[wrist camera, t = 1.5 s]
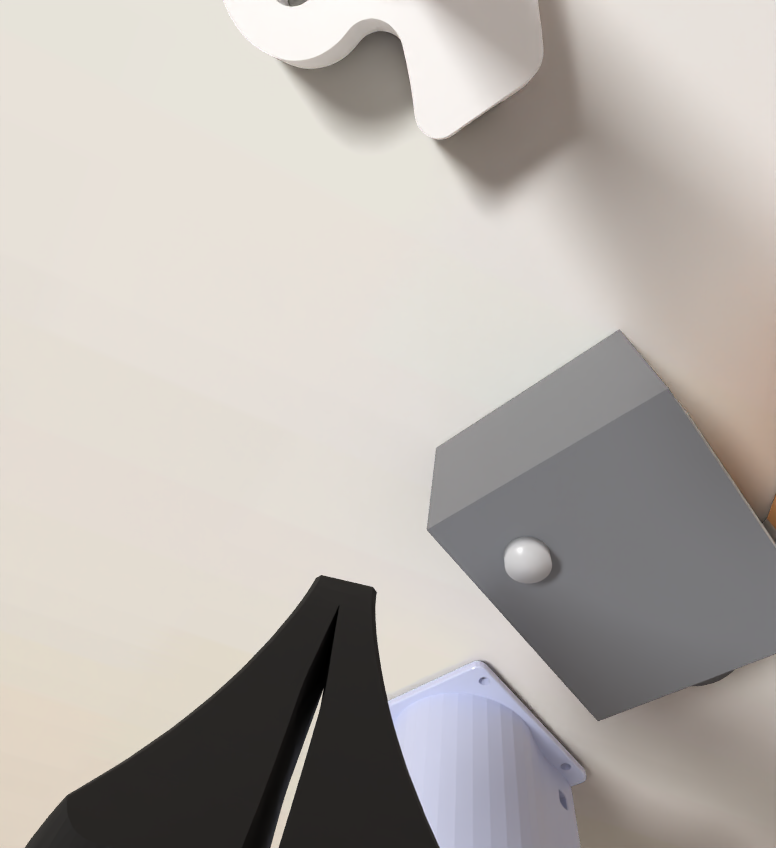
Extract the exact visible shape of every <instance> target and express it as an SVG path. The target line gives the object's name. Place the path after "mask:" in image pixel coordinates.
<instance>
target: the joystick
mask: <svg viewBox="0 0 776 848" xmlns="http://www.w3.org/2000/svg"><path fill="white" fill-rule="evenodd" d="M223 2H224V4H225V7H226V9H227V11H228V13H229V15H230V17H231V19H232V21H233V22H234V24H235V25H236V27H237V28H238V30H239V31H240V32H241V33H242V34H243V36H244V37H245V38H246V39H247V40H248V41H249V42H250V43H251V44H253V45H254V46H255V47H256V48H258V49H259V50H261V51H263V52H264V53H266V54H268V55H270V56H272V57H274V58H277V59H279V60H281V61H283V62H285V63H287V64H290V65H292V66H295V67H299V68H305V69H317V68H323V67H326V66H329V65H332V64H334V63H336V62H338V61H340V60H341V59H343V58H344V57H346V56H347V55H348V54H349V53H350V52H351V51H352V50H353V49H354V48H355V47H356V46H357V44H358V43H359V42H360V41H361V40H362V39H363V38H364V37H365V36H367V35H368V34H370V33H373V32H376V31H386V32H389V33H392V34H394V35H395V36H397V37H398V38H399V39H400V40H401V42H402V46H403V50H404V54H405V59H406V63H407V68H408V74H409V79H410V85H411V91H412V98H413V106H414V114H415V120H416V123H417V125H418V127H419V129H420V130H421V131H422V132H423V133H424V134H425V135H427V136H429V137H431V138H434V139H439V140H441V139H447V138H449V137H451V136H453V135H454V134H456V133H457V132H459V131H460V130H461V129H462V128H463V127H465V126H466V125H468V124H469V123H471V122H472V121H474V120H475V119H476V118H478V117H479V116H481V115H482V114H484V113H485V112H487V111H488V110H489V109H491V108H492V107H494V106H495V105H497V104H498V103H501V102H503V101H504V100H506V99H507V98H509V97H510V96H512V95H513V94H515V93H516V92H517V91H519V90H520V89H522V88H523V87H524V86H526V84H527V83H528V82H529V81H530V80H531V79H532V78H533V76H534V75H535V74H536V73H537V71H538V70H539V68H540V66H541V63H542V60H543V54H544V48H543V38H542V28H541V20H540V13H539V5H538V0H308V1H306V2H305V3H303V4H301V5H299V6H293V7H290V6H289V4H288V1H287V0H223Z"/></svg>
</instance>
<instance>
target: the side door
mask: <svg viewBox="0 0 776 848" xmlns="http://www.w3.org/2000/svg"><path fill="white" fill-rule="evenodd" d="M763 526H764V527H765V529H766V530H767V532H768V533H769V535H770V536H771V538H772V539H773V541H774V542H775V544H776V495H775V498H774V500H773V503H772V506H771V509H770V512H769V514H768V517H767V519H766V520H765V521H764V522H763Z"/></svg>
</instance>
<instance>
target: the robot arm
mask: <svg viewBox="0 0 776 848" xmlns="http://www.w3.org/2000/svg"><path fill="white" fill-rule="evenodd" d="M376 593H377V592H376V591H375V589H374V588H373V587H370V586H366V585H362V584H357V583H353V582H349V581H344V580H340V579H336V578H331V577H327V576H323V575H321V576H319V577H317V578H316V579H315V581H314V582H313V584H312V586H311V587H310V589H309V590H308V592H307V594H306V595H305V596H304V598H303V599H302V601H301V602H300V603H299V605H298V606H297V607H296V609H295V610H294V611H293V612H292V614H291V615H290V616H289V617H288V619H287V620H286V621H285V622H284V623H283V625H282V626H281V627H280V628H279V629H278V630H277V632H276V633H275V634H274V635H273V636H272V637H271V639H270V640H269V641H268V642H267V643H266V644H265V645H264V646H263V647H262V648H261V649H260V650H259V651H258V652H257V653H256V654H255V655H254V657H253V658H252V659H251V660H250V661H249V662H248V663H247V664H246V665H245V666H244V667H243V668H242V669H241V670H240V671H239V672H238V673H237V674H236V675H234V676H233V677H232V678H231V679H230V680H229V681H228V682H227V683H226V684H225V685H224V686H223V687H221V688H220V689H219V690H218V691H217V692H216V693H215V694H213V695H212V696H211V697H210V698H209V699H208V700H206V701H205V702H204V703H203V704H201V705H200V706H199V707H198V708H197V709H195V710H194V711H193V712H192V713H190V714H189V715H188V716H187V717H185V718H184V719H183V720H182V721H180V722H179V723H178V724H176V725H175V726H174V727H172V728H171V729H170V730H168V731H167V732H165V733H164V734H163V735H161V736H160V737H158V738H157V739H155V740H154V741H152V742H151V743H150V744H148V745H147V746H145V747H144V748H142V749H141V750H140V751H138V752H137V753H135V754H134V755H132V756H131V757H129V758H128V759H126V760H125V761H123V762H122V763H120V764H119V765H117V766H115V767H114V768H112V769H110V770H109V771H107V772H105V773H104V774H102V775H100V776H99V777H97V778H95V779H94V780H92V781H90V782H89V783H87V784H85V785H84V786H82V787H80V788H79V789H77V790H75V791H73V792H72V793H70V794H68V795H67V796H66V797H65V798H64V799H63V800H62V801H61V803H60V804H59V805H58V806H57V807H56V808H55V810H54V811H53V812H52V813H51V814H50V815H49V817H48V818H47V819H46V820H45V822H44V823H43V824H42V825H41V827H40V828H39V829H38V831H37V832H36V833H35V834H34V836H33V837H32V838H31V840H30V841H29V842H28V844H27V845H26V847H25V848H270V847H271V843H272V840H273V836H274V832H275V829H276V825H277V821H278V818H279V814H280V810H281V807H282V803H283V800H284V797H285V794H286V791H287V788H288V785H289V782H290V779H291V776H292V774H293V771H294V768H295V765H296V763H297V760H298V757H299V755H300V752H301V749H302V746H303V744H304V741H305V738H306V735H307V733H308V730H309V727H310V724H311V722H312V719H313V716H314V713H315V711H316V708H317V705H318V702H319V700H320V697H321V694H322V691H323V696H322V702H321V707H320V711H319V714H318V718H317V721H316V725H315V728H314V732H313V735H312V739H311V742H310V746H309V749H308V753H307V756H306V759H305V763H304V766H303V770H302V773H301V776H300V780H299V783H298V786H297V790H296V793H295V796H294V800H293V803H292V806H291V810H290V813H289V816H288V819H287V823H286V826H285V829H284V832H283V836H282V839H281V842H280V845H279V848H581V846H580V839H579V833H578V827H577V820H576V814H575V808H574V801H573V795H572V789H571V786H574V785H577V784H580V783H582V782H584V781H585V780H586V772H585V769H584V768H583V767H582V766H581V765H580V764H579V763H578V762H577V760H576V759H575V758H574V757H573V756H572V755H571V754H570V753H569V752H568V751H567V750H566V749H565V748H564V747H563V746H562V745H561V743H560V742H559V741H558V740H557V739H556V738H555V737H554V736H553V735H552V734H551V733H550V732H549V731H548V730H547V729H546V727H545V726H544V725H543V724H542V723H541V722H540V721H539V720H538V719H537V718H536V717H535V716H534V715H533V714H532V713H531V711H530V710H529V709H528V708H527V707H526V706H525V705H524V704H523V703H522V702H521V701H520V700H519V699H518V698H517V697H516V695H515V694H514V693H513V692H512V691H511V690H510V689H509V688H508V687H507V686H506V685H505V684H504V683H503V682H502V681H501V680H500V678H499V677H498V676H497V675H496V674H495V673H494V672H493V671H492V670H491V669H490V668H489V667H488V666H487V665H486V664H485V663H483V662H480V661H474V662H471V663H469V664H467V665H465V666H463V667H460V668H458V669H456V670H454V671H452V672H450V673H447V674H445V675H443V676H441V677H439V678H437V679H435V680H432V681H430V682H428V683H426V684H424V685H422V686H419V687H417V688H415V689H413V690H411V691H409V692H406V693H404V694H402V695H400V696H398V697H396V698H393V699H391V700H389V701H388V700H387V695H386V691H385V686H384V681H383V676H382V671H381V664H380V658H379V651H378V644H377V635H376V621H375V603H376ZM482 677H485V678H482ZM323 689H324V690H323Z"/></svg>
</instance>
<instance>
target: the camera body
mask: <svg viewBox="0 0 776 848" xmlns="http://www.w3.org/2000/svg"><path fill="white" fill-rule="evenodd" d="M427 531H428V532H429V533H430V534H431V535H432V536H433V537H434V538H435V540H436V541H437V542H438V543H439V544H440V545H441V546H442V547H443V549H444V550H445V551H446V552H447V553H448V554H449V555H450V556H451V557H452V559H453V560H454V561H455V562H456V563H457V564H458V565H459V566H460V568H461V569H462V570H463V571H464V572H465V573H466V574H467V575H468V576H469V578H470V579H471V580H472V581H473V582H474V583H475V584H476V585H477V587H478V588H479V589H480V590H481V591H482V592H483V593H484V594H485V595H486V597H487V598H488V599H489V600H490V601H491V602H492V603H493V604H494V606H495V607H496V608H497V609H498V610H499V611H500V612H501V613H502V614H503V616H504V617H505V618H506V619H507V620H508V621H509V622H510V623H511V625H512V626H513V627H514V628H515V629H516V630H517V631H518V632H519V633H520V635H521V636H522V637H523V638H524V639H525V640H526V641H527V642H528V644H529V645H530V646H531V647H532V648H533V649H534V650H535V651H536V652H537V654H538V655H539V656H540V657H541V658H542V659H543V660H544V661H545V663H546V664H547V665H548V666H549V667H550V668H551V669H552V670H553V671H554V673H555V674H556V675H557V676H558V677H559V678H560V679H561V680H562V682H563V683H564V684H565V685H566V686H567V687H568V688H569V689H570V690H571V692H572V693H573V694H574V695H575V696H576V697H577V698H578V699H579V701H580V702H581V703H582V704H583V705H584V706H585V707H586V708H587V709H588V711H589V712H590V713H591V714H592V715H593V716H594V717H595V718H596V720H597V721H600V720H603V719H605V718H608V717H610V716H613V715H616V714H618V713H621V712H624V711H626V710H629V709H632V708H634V707H637V706H639V705H642V704H645V703H647V702H650V701H653V700H655V699H658V698H660V697H663V696H666V695H668V694H671V693H674V692H676V691H679V690H682V689H684V688H687V687H689V686H702V685H707V684H711V683H714V682H716V681H719V680H721V679H723V678H724V677H726V676H727V675H729V674H730V673H731V672H733V671H734V670H735V669H737V668H739V667H742V666H745V665H747V664H750V663H753V662H755V661H758V660H760V659H763V658H766V657H768V656H771V655H774V654H776V544H775V542H774V541H773V539H772V538H771V536H770V535H769V533H768V532H767V530H766V529H765V527H764V526H763V524H762V523H761V521H760V520H759V518H758V517H757V515H756V514H755V512H754V511H753V509H752V508H751V507H750V505H749V504H748V502H747V501H746V499H745V498H744V496H743V495H742V493H741V492H740V490H739V489H738V487H737V486H736V484H735V483H734V481H733V480H732V478H731V477H730V475H729V474H728V472H727V471H726V469H725V468H724V466H723V465H722V463H721V462H720V460H719V459H718V457H717V456H716V454H715V453H714V451H713V450H712V448H711V447H710V445H709V444H708V442H707V441H706V439H705V438H704V436H703V435H702V434H701V432H700V431H699V429H698V428H697V426H696V425H695V423H694V422H693V420H692V419H691V417H690V416H689V414H688V413H687V412H686V411H685V409H684V408H683V407H682V406H681V404H680V403H679V402H678V401H677V400H676V398H675V397H674V396H673V394H672V393H671V391H670V390H669V389H668V387H667V386H666V385H665V384H664V382H663V381H662V380H661V379H660V378H659V376H658V375H657V374H656V373H655V372H654V370H653V369H652V368H651V367H650V366H649V364H648V363H647V362H646V361H645V360H644V358H643V357H642V356H641V355H640V354H639V352H638V351H637V350H636V349H635V348H634V346H633V345H632V344H631V343H630V342H629V340H628V339H627V338H626V337H625V336H624V334H623V333H622V332H621V331H620V330H618V331H616V332H615V333H613V334H612V335H610V336H609V337H607V338H606V339H604V340H603V341H601V342H599V343H598V344H596V345H595V346H593V347H592V348H590V349H589V350H587V351H586V352H584V353H582V354H581V355H579V356H578V357H576V358H575V359H573V360H572V361H570V362H569V363H567V364H565V365H564V366H562V367H561V368H559V369H558V370H556V371H555V372H553V373H552V374H550V375H548V376H547V377H545V378H544V379H542V380H541V381H539V382H538V383H536V384H535V385H533V386H531V387H530V388H528V389H527V390H525V391H524V392H522V393H521V394H519V395H518V396H516V397H514V398H513V399H511V400H510V401H508V402H507V403H505V404H504V405H502V406H501V407H499V408H497V409H496V410H494V411H493V412H491V413H490V414H488V415H487V416H485V417H484V418H482V419H480V420H479V421H477V422H476V423H474V424H473V425H471V426H470V427H468V428H467V429H465V430H463V431H462V432H460V433H459V434H457V435H456V436H454V437H453V438H451V439H450V440H448V441H446V442H445V443H443V444H442V445H440V446H439V447H437V448H436V454H435V463H434V472H433V480H432V489H431V498H430V506H429V515H428V523H427Z"/></svg>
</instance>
